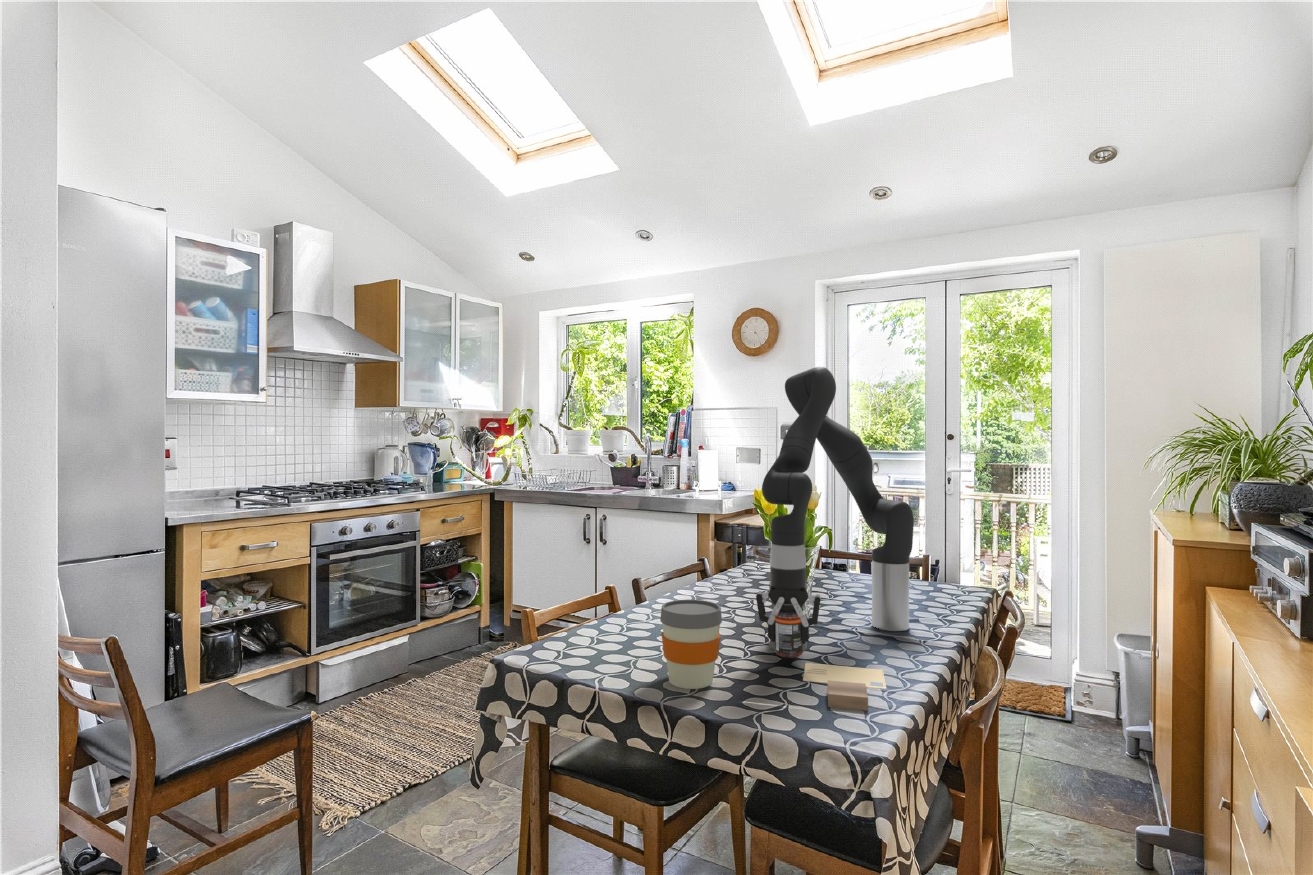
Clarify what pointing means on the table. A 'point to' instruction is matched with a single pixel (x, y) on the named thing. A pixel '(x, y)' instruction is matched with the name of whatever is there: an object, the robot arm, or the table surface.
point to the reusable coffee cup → (691, 641)
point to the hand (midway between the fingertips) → (788, 641)
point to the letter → (844, 675)
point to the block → (847, 695)
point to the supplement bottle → (788, 632)
